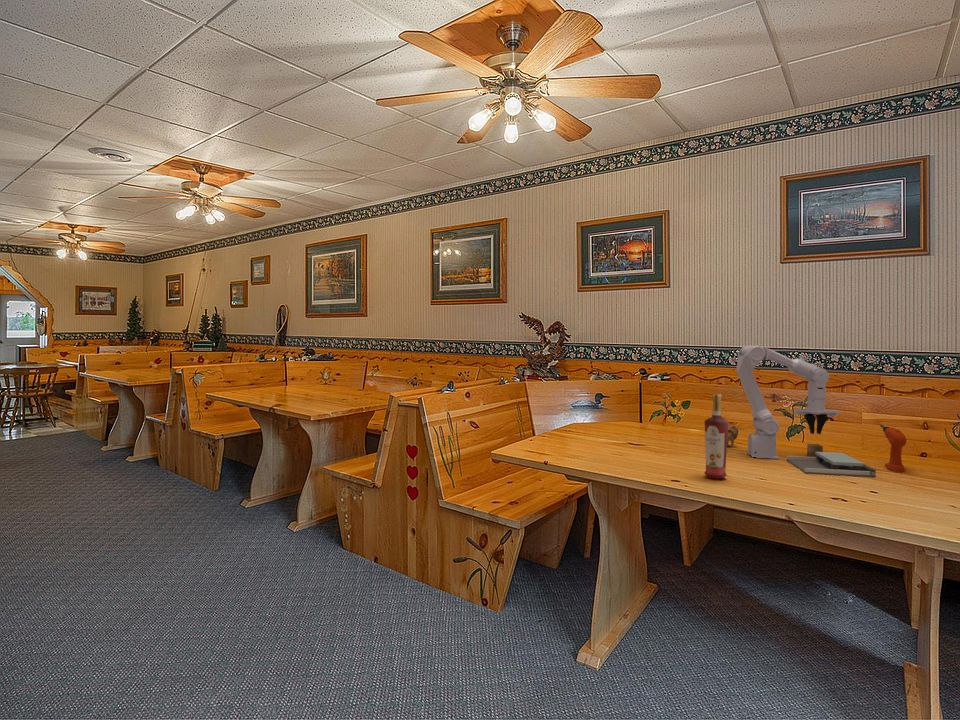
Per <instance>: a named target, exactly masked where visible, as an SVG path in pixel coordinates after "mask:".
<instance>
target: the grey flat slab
mask: <svg viewBox="0 0 960 720" xmlns="http://www.w3.org/2000/svg"><path fill="white" fill-rule="evenodd" d="M815 455H817V457H816V459H817V461H819V462H823V461H824V460H826V461H828V462H829V463H831V464H832V465H831V469H834V470H839V469H840V466H839V465H847V466H853V470H854V471H861V470H862V467H861V466H863V464H864V463H863V462H862V461H860V460H858V459H856V458H854V457H852V456H849V454H846V453H844V452H834V451H833V452H830V451H829V452H827V451H823V452H815Z"/></svg>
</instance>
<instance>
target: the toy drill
mask: <svg viewBox="0 0 960 720" xmlns="http://www.w3.org/2000/svg"><path fill="white" fill-rule="evenodd" d="M879 426H880V427H881V428H882V432H883V434H884V435H885V437H886V439H887V441H888V443H890V445H891V446H890V452H889V453H890V454H889V461H888V462H887V463H885V464H884V468H885V467H886V468H887V469H886V468H885V469H886V470H888V469H889V470H888V471H890V470H891V472H894V471H896V472H897V473H905V472H904V471H906V468H905V466H904V465H903V462H902V460H903V459H902V451H903V448H904V447H905V446H906V444H907V436H906V435H905V434H904V433H903V432H902V431H901V430H900V429H897V428H895V427H890V426H885V425H884V424H880V425H879ZM896 472H895V473H896Z"/></svg>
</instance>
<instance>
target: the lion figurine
mask: <svg viewBox="0 0 960 720" xmlns="http://www.w3.org/2000/svg"><path fill="white" fill-rule="evenodd" d="M738 436H739V428H738V427H737V425H729V426H728V440H727V446H729V447H731V448H732V447H735V446H734V444H735V440H736V439H737V438H738ZM729 441H730V443H729ZM729 444H730V445H729Z"/></svg>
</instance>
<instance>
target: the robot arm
mask: <svg viewBox="0 0 960 720" xmlns="http://www.w3.org/2000/svg"><path fill="white" fill-rule="evenodd" d="M763 360H764V361H765V360H766V361H767V360H768V361H772V362H775V363H777V364H780V365H782V366H785V367H787V369H788V370H789V372H790V373H792V374H795V375H797V376H798V377H799V376H800V377H802V378H804V379H806V380H807V408H794V411H793V414H794V415H797V416H798V415H803V416H804V419H805V421H806V423H807V425H808V429H809V433H810V434H811V435H815V424H816V434H818V435H821V434H822V431H823V428H824V425H825V424H826V422H827V421H828V420H829V416H835V417H839V410H837V409H826V392H827V391H826V388H827V382H828V381H829V380H830V374H829V372H828V371H827V370H826V369H825V368H823V367H817V364H815V363H809V362H808V361H805V359H804V358H802V357H800V358H797V357H796V358H794V359H792V358H790V357H788V356H785V355H784V354H781V353H779V352H777V351H775V350H773V349H770V348H768V347H765V346H764V347H763V346H761V345H758V344H757V345H752V344H745V345H743V346H742V347H741V348H740V349H739V351H738V353H737V363H736V369H735V370H736V373H737V376H738V378H739V380H740V383H741V386H742V387H743V390H744V393H745V395H746V397H747V398H746V399H747V401H748V403H749V404H750V407H751V410H752V415H751V416H752V419H753V421H752V426H753V427H754V428H755V431H754V432H755V433H749V434H748V437H747V438H748V439H747V443H748V444H747V452H746V453H747V454H748V455H749V456H750V455H751V456H752V457H751V456H750V457H751V458H753V457H756V458H757V459H772V460H773V459H774V460H775V459H776V460H777V459H778V460H780V457H779V456H778V455H777V453H776V451H777V433H778V432H779V430H780V424H779V422H778V421H777V420H776V419H775V417H774V415H773V414H772V413H771V412H770V410H769V409H768V406H767V404H766V402H765V398H764V396H763V394H762V392H761V390H760V387H759V385H758V381H757V380H756V378H755V374H754V373H753V371H754V370H755V368H756V366H757V365H758V364H760V362H762V361H763ZM756 458H755V459H756Z"/></svg>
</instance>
